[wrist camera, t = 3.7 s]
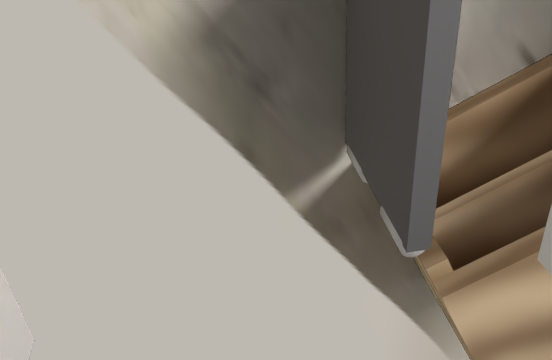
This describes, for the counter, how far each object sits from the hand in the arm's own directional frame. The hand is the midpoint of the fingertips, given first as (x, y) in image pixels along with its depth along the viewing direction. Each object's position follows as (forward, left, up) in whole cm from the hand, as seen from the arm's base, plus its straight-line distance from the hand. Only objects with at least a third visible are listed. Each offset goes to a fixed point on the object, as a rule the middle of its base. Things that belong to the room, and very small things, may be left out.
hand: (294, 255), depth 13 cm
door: (+4, +5, -20) cm, 21 cm away
